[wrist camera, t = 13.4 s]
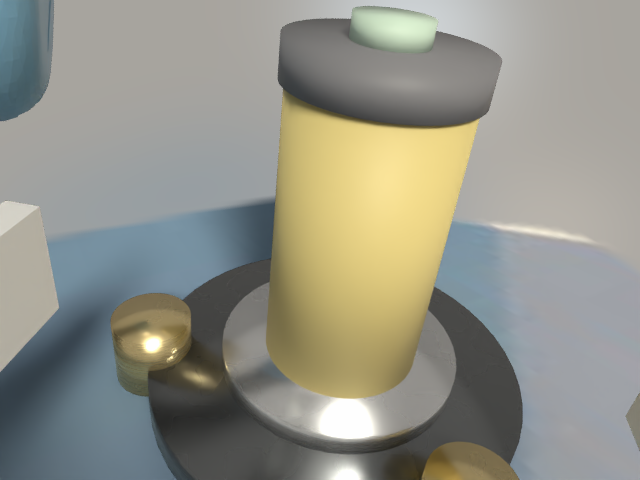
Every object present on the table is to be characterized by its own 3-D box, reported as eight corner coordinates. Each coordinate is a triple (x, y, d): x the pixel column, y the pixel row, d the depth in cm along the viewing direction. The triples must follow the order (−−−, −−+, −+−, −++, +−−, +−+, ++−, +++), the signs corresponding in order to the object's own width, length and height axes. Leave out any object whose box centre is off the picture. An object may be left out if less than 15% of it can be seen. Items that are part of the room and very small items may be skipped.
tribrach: (53, 411, 22) (40, 356, 20) (287, 232, 35) (291, 191, 34) (464, 682, 15) (493, 634, 14) (557, 338, 29) (577, 294, 27)
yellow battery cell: (227, 353, 22) (235, 4, 15) (312, 274, 27) (346, -12, 20) (379, 432, 19) (473, 57, 12) (440, 329, 25) (530, 23, 18)
